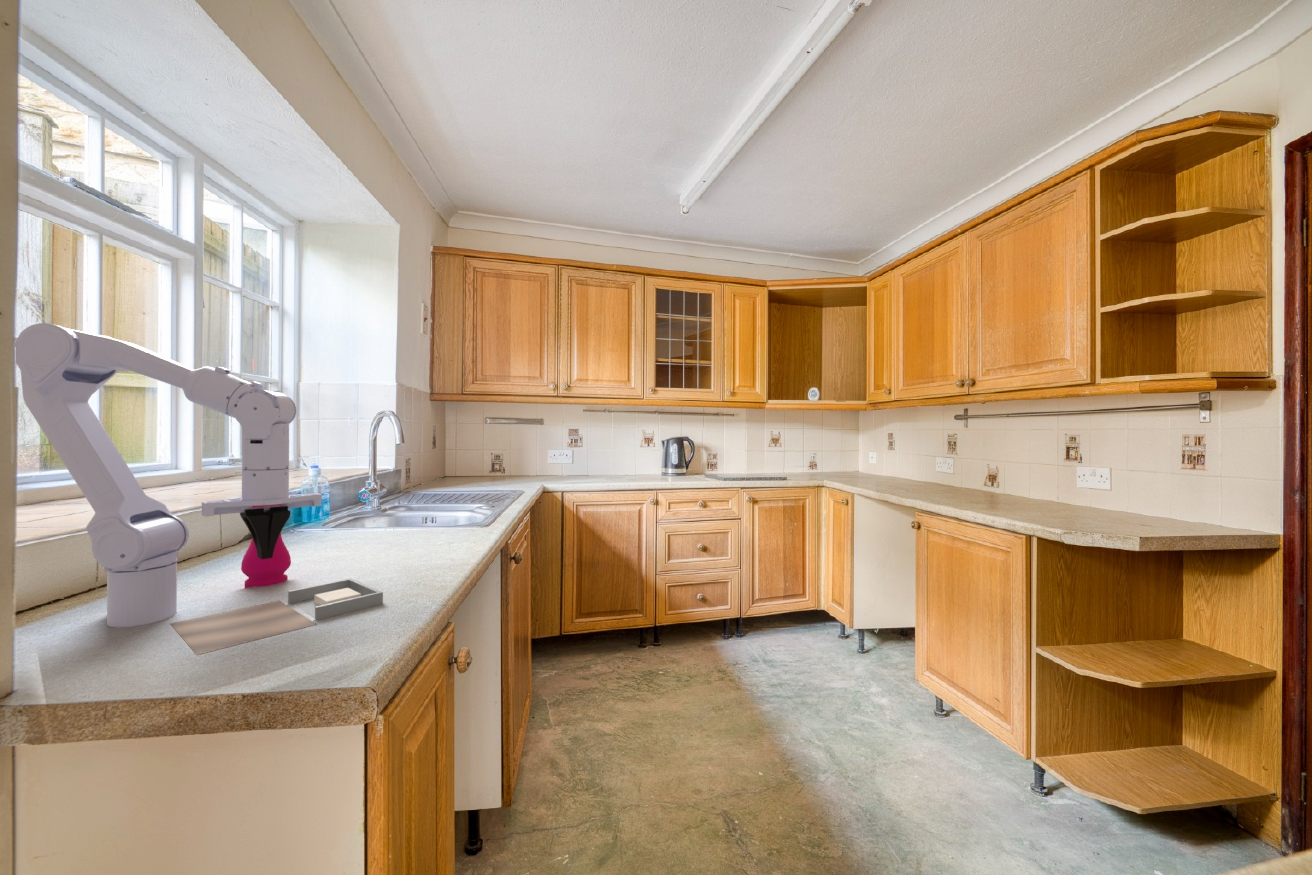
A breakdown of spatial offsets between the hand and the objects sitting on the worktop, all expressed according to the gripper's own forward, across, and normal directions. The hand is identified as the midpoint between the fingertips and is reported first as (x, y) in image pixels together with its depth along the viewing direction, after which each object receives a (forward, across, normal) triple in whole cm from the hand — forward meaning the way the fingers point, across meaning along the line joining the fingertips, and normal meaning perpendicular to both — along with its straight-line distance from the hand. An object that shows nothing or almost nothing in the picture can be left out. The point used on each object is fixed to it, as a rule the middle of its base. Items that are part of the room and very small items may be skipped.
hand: (265, 557), depth 78 cm
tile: (+9, +9, -4) cm, 13 cm away
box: (+9, +8, -4) cm, 13 cm away
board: (+9, -4, -4) cm, 11 cm away
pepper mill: (+10, +5, +18) cm, 21 cm away
